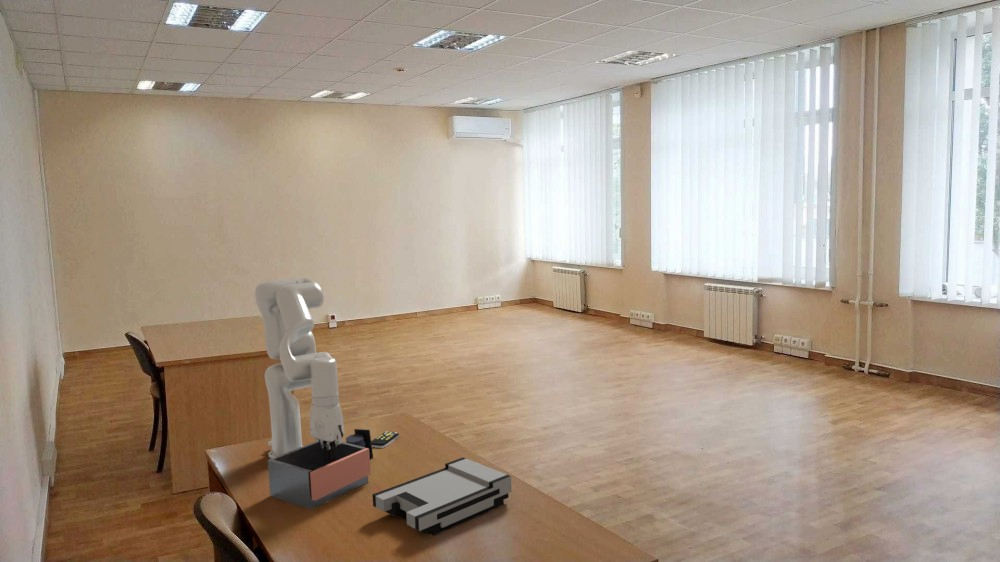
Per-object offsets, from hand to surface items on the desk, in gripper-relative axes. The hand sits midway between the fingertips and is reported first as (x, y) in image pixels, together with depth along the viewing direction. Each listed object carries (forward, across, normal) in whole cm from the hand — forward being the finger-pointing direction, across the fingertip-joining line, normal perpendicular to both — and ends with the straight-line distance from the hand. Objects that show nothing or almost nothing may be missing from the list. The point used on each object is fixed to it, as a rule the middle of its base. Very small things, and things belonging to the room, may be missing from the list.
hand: (329, 460), depth 210 cm
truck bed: (+10, -5, 0) cm, 11 cm away
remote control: (+10, -17, +40) cm, 45 cm away
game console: (+10, +36, +8) cm, 38 cm away
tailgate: (+7, +4, 0) cm, 8 cm away
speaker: (+10, -11, +22) cm, 27 cm away
